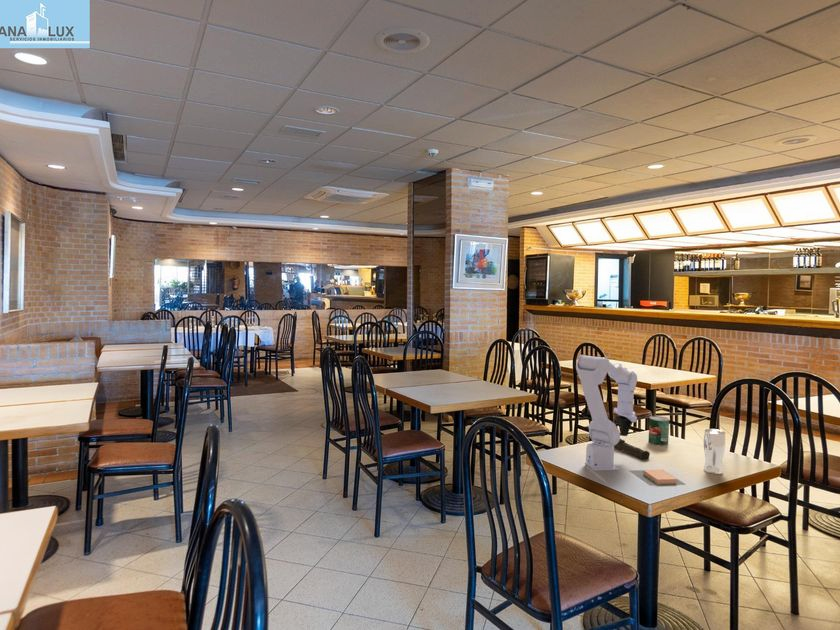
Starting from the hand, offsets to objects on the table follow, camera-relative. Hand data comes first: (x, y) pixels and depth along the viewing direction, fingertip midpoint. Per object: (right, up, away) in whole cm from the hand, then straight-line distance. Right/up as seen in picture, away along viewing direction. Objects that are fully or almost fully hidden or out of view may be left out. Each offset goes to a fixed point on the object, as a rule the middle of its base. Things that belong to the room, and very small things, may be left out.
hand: (624, 435), depth 201 cm
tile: (+4, -9, -17) cm, 19 cm away
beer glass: (+28, -11, -11) cm, 32 cm away
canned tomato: (+24, -9, +22) cm, 34 cm away
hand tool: (+5, -10, +8) cm, 13 cm away
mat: (+4, -11, -19) cm, 22 cm away
